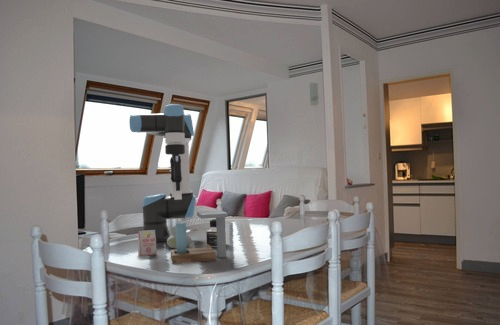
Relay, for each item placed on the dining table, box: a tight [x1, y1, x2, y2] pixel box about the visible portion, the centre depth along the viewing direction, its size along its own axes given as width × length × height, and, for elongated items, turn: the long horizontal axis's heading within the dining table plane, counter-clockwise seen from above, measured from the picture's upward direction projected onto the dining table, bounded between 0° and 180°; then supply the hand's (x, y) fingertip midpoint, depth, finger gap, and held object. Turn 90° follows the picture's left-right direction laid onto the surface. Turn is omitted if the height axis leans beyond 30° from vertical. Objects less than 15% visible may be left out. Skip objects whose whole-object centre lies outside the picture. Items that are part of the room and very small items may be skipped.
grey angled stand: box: [196, 209, 229, 258], centre depth 155 cm, size 14×10×18 cm
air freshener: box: [166, 224, 192, 250], centre depth 179 cm, size 11×8×10 cm
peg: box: [175, 222, 188, 254], centre depth 152 cm, size 4×4×14 cm
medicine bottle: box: [205, 218, 228, 248], centre depth 181 cm, size 7×7×12 cm
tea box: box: [137, 230, 157, 257], centre depth 165 cm, size 4×7×10 cm, turn 115°
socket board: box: [170, 246, 216, 265], centre depth 153 cm, size 12×16×3 cm
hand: (176, 198), depth 155 cm, fingers open, 13 cm apart
